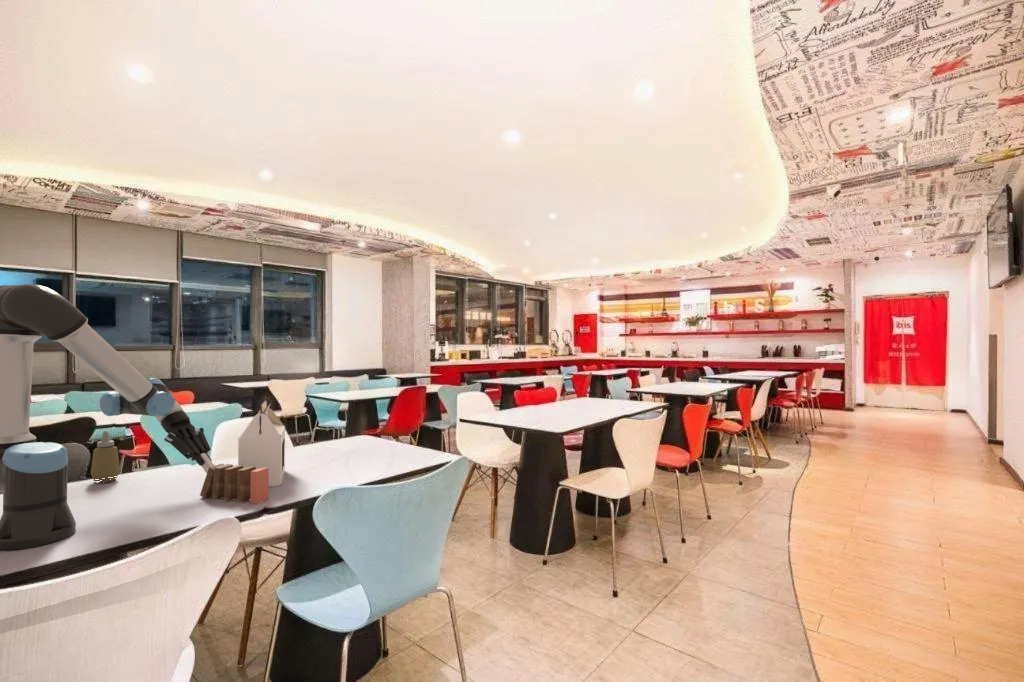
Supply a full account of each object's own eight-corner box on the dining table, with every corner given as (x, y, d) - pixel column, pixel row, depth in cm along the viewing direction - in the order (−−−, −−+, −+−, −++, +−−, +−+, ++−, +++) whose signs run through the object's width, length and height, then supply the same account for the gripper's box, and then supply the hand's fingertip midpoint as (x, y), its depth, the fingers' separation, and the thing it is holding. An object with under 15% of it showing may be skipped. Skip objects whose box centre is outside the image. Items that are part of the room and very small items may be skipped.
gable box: (281, 486, 170) (281, 405, 170) (237, 490, 165) (238, 407, 165) (284, 470, 190) (285, 398, 190) (246, 473, 185) (247, 400, 185)
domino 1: (199, 495, 156) (209, 467, 155) (213, 490, 161) (222, 463, 160) (204, 498, 155) (214, 470, 154) (218, 493, 160) (227, 466, 159)
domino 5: (250, 503, 151) (250, 471, 151) (262, 498, 155) (262, 467, 155) (256, 504, 150) (256, 471, 150) (268, 499, 155) (268, 467, 155)
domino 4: (237, 502, 152) (237, 470, 152) (249, 497, 157) (250, 466, 157) (243, 502, 151) (243, 470, 151) (255, 497, 156) (255, 466, 156)
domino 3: (224, 500, 153) (224, 468, 153) (237, 495, 158) (237, 465, 158) (230, 501, 153) (230, 469, 153) (242, 496, 158) (243, 465, 158)
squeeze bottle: (123, 480, 175) (124, 430, 175) (95, 486, 168) (95, 434, 168) (114, 477, 179) (115, 428, 180) (86, 482, 173) (87, 431, 173)
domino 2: (211, 498, 155) (214, 467, 154) (225, 493, 159) (227, 463, 159) (217, 499, 154) (219, 468, 154) (230, 495, 159) (232, 464, 159)
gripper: (183, 422, 170) (222, 473, 165) (146, 428, 157) (187, 484, 152) (196, 407, 168) (234, 458, 164) (159, 412, 156) (200, 468, 151)
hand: (211, 471), depth 158 cm, fingers closed
